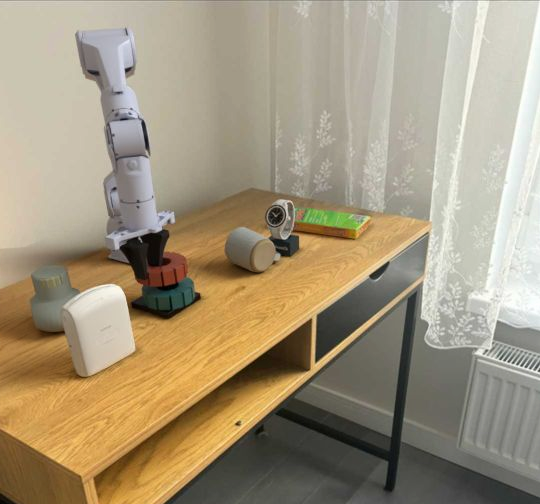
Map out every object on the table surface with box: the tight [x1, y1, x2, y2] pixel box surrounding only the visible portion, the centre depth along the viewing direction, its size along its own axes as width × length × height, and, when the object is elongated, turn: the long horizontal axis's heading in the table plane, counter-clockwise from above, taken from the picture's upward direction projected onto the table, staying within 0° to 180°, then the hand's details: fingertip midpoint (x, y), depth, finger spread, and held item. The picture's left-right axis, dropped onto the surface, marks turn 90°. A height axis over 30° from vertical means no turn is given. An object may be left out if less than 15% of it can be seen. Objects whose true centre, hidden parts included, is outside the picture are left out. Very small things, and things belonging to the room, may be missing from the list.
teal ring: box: [141, 276, 196, 310], centre depth 110 cm, size 9×9×3 cm
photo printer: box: [60, 283, 136, 378], centre depth 92 cm, size 10×4×12 cm, turn 140°
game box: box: [292, 206, 372, 240], centre depth 142 cm, size 3×10×20 cm
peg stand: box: [130, 285, 202, 320], centre depth 110 cm, size 9×9×7 cm
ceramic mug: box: [224, 226, 281, 273], centre depth 123 cm, size 11×8×8 cm
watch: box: [264, 198, 300, 257], centre depth 128 cm, size 6×8×11 cm
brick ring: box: [133, 251, 189, 287], centre depth 108 cm, size 9×9×3 cm
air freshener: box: [29, 264, 81, 333], centre depth 104 cm, size 11×8×10 cm
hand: (148, 274), depth 106 cm, fingers closed on brick ring, 3 cm apart
